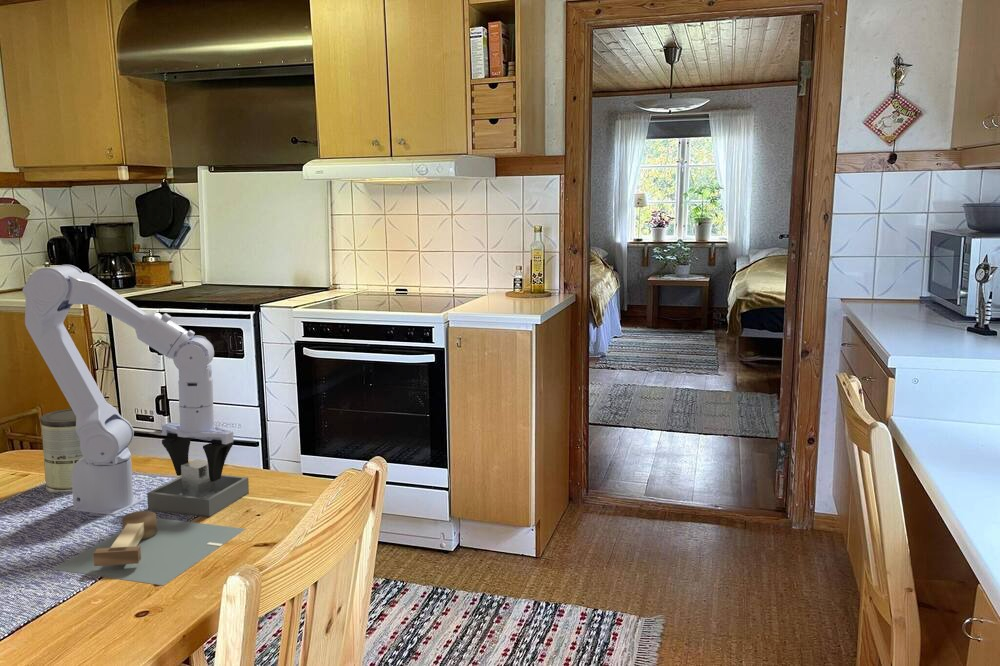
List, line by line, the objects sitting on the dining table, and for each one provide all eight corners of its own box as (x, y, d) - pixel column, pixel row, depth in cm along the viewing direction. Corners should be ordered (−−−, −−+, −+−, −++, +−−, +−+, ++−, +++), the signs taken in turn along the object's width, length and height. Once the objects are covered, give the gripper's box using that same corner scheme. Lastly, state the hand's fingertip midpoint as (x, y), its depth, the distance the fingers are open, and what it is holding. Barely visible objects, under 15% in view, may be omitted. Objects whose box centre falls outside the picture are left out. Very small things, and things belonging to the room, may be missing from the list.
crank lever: (124, 529, 127) (123, 511, 126) (163, 527, 128) (162, 509, 128) (94, 571, 112) (93, 552, 111) (138, 568, 113) (137, 549, 112)
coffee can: (40, 482, 150) (36, 412, 148) (99, 472, 156) (95, 405, 154) (49, 497, 142) (44, 423, 140) (110, 486, 148) (106, 416, 146)
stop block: (182, 502, 139) (180, 465, 138) (198, 495, 143) (197, 459, 142) (199, 505, 138) (198, 468, 137) (215, 498, 141) (214, 462, 140)
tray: (148, 511, 136) (147, 492, 136) (191, 488, 148) (190, 471, 147) (209, 519, 133) (209, 500, 133) (248, 495, 145) (248, 477, 145)
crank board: (51, 571, 113) (51, 568, 113) (148, 518, 133) (148, 516, 133) (163, 588, 108) (163, 584, 108) (245, 531, 128) (245, 528, 128)
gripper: (147, 404, 137) (150, 478, 139) (213, 413, 132) (215, 489, 134) (177, 396, 143) (179, 466, 145) (240, 405, 138) (242, 477, 140)
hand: (198, 476), depth 140 cm, fingers open, 7 cm apart
